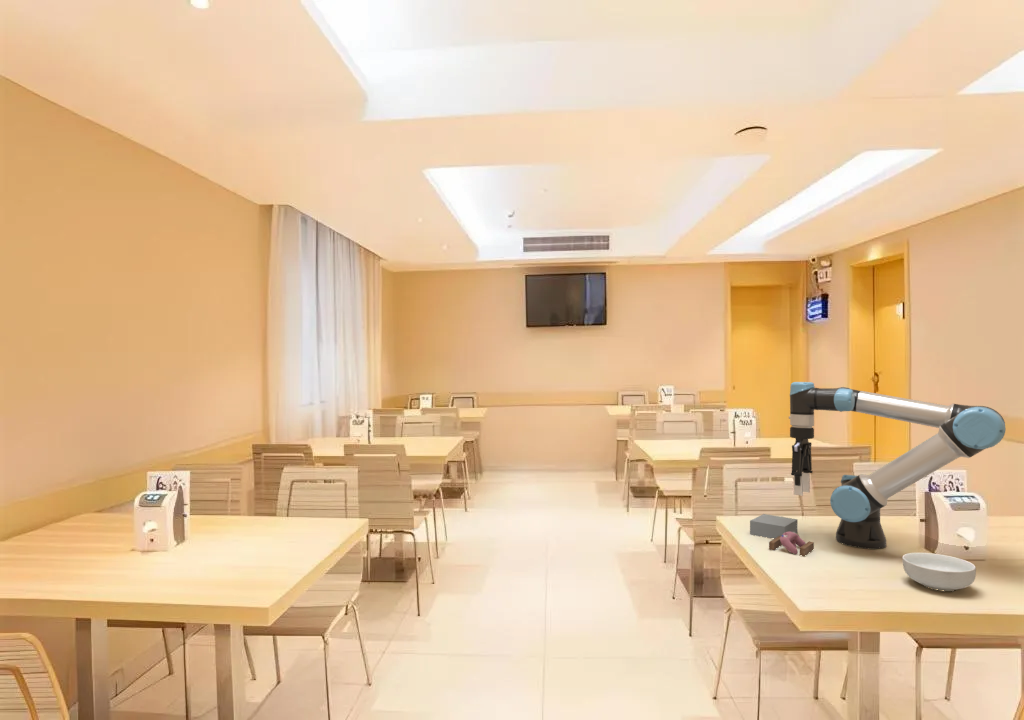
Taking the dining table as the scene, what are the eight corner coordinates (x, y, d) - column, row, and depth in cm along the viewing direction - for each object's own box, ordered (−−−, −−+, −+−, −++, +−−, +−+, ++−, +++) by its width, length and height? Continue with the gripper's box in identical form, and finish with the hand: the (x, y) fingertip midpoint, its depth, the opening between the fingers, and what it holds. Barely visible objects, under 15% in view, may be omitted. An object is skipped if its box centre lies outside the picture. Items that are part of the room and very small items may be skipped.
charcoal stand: (797, 533, 222) (797, 519, 222) (784, 541, 211) (784, 526, 211) (763, 527, 230) (763, 513, 230) (749, 534, 219) (750, 520, 219)
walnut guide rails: (813, 549, 201) (813, 542, 201) (804, 556, 194) (804, 548, 194) (779, 543, 209) (779, 535, 209) (769, 549, 201) (769, 541, 201)
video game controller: (796, 551, 205) (787, 530, 207) (809, 547, 202) (799, 527, 204) (784, 557, 198) (775, 536, 200) (797, 554, 195) (787, 532, 197)
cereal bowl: (906, 572, 180) (906, 548, 180) (977, 585, 169) (977, 559, 169) (898, 588, 167) (898, 562, 167) (974, 603, 156) (974, 575, 156)
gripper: (799, 424, 220) (799, 487, 219) (780, 427, 205) (780, 496, 205) (821, 425, 215) (821, 490, 214) (804, 429, 200) (804, 499, 200)
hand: (801, 493), depth 210 cm, fingers open, 7 cm apart
